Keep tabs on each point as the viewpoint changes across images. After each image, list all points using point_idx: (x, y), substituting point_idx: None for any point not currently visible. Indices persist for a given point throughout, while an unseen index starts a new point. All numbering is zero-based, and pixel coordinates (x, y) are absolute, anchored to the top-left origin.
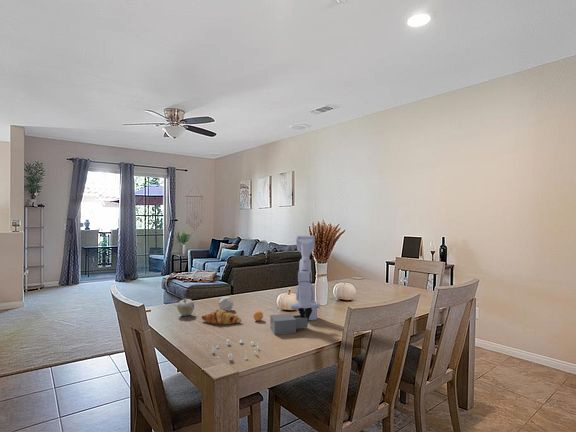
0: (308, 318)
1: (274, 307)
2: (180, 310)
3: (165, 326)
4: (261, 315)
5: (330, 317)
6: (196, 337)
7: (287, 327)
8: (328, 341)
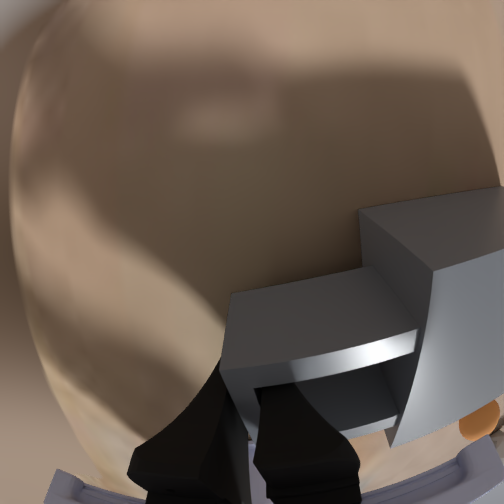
0: (208, 384)
1: None
2: None
3: None
4: (479, 418)
5: (113, 442)
6: None
7: (466, 212)
8: (80, 17)
